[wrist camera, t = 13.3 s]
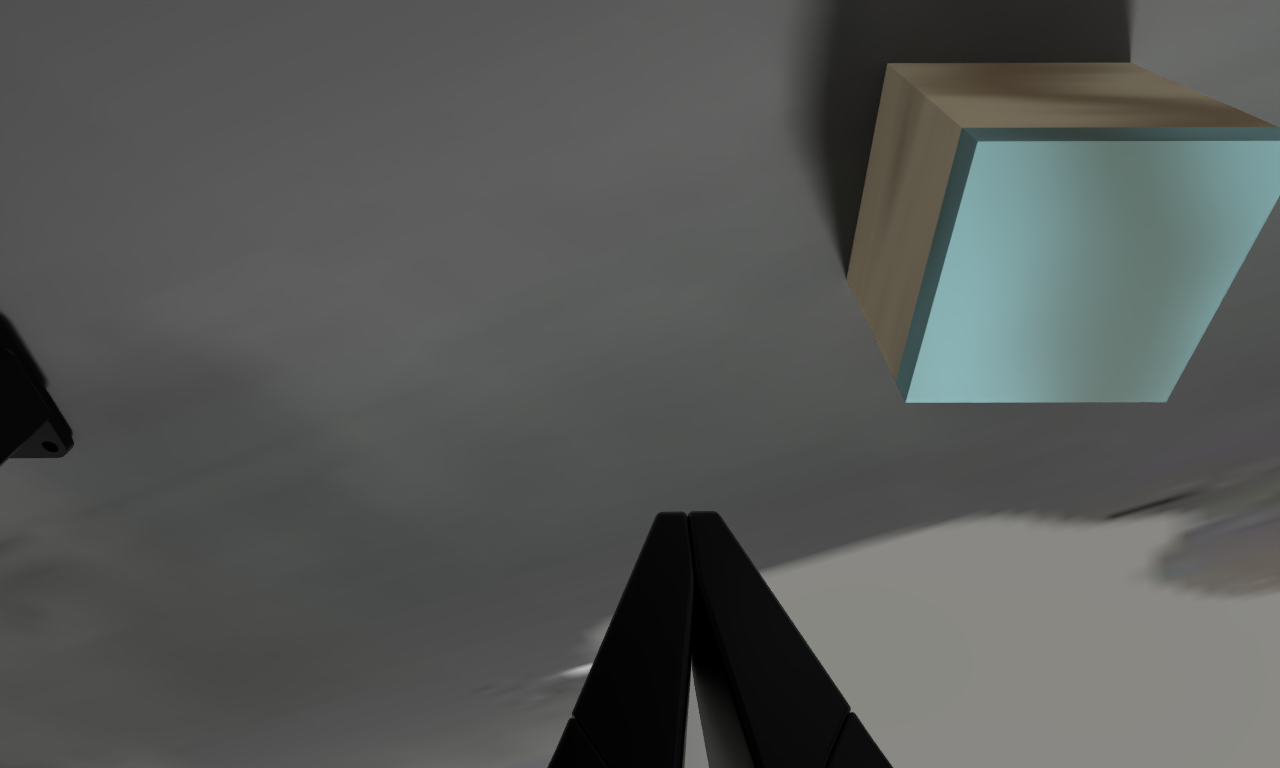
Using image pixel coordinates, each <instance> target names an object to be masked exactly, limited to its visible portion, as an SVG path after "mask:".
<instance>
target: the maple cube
mask: <svg viewBox="0 0 1280 768" xmlns="http://www.w3.org/2000/svg"><path fill="white" fill-rule="evenodd" d="M1279 196H1280V128H1279V127H1277V126H1275V125H1273V124H1270V123H1268V122H1266V121H1263V120H1261V119H1259V118H1256V117H1254V116H1252V115H1250V114H1247V113H1245V112H1243V111H1240V110H1238V109H1236V108H1233V107H1231V106H1229V105H1227V104H1224V103H1222V102H1220V101H1217V100H1215V99H1213V98H1211V97H1208V96H1206V95H1204V94H1201V93H1199V92H1197V91H1194V90H1192V89H1190V88H1188V87H1185V86H1183V85H1181V84H1178V83H1176V82H1174V81H1171V80H1169V79H1167V78H1165V77H1162V76H1160V75H1158V74H1155V73H1153V72H1151V71H1149V70H1146V69H1144V68H1142V67H1139V66H1137V65H1135V64H1132V63H887V68H886V73H885V78H884V84H883V89H882V94H881V99H880V105H879V110H878V115H877V121H876V126H875V131H874V136H873V142H872V147H871V152H870V158H869V163H868V168H867V173H866V179H865V184H864V189H863V195H862V200H861V205H860V210H859V216H858V221H857V226H856V232H855V237H854V242H853V247H852V253H851V258H850V263H849V269H848V274H847V282H848V284H849V286H850V288H851V290H852V292H853V294H854V296H855V298H856V300H857V302H858V304H859V307H860V309H861V311H862V313H863V315H864V317H865V319H866V321H867V323H868V325H869V327H870V329H871V332H872V334H873V336H874V338H875V340H876V342H877V344H878V346H879V348H880V350H881V352H882V354H883V357H884V359H885V361H886V363H887V365H888V367H889V369H890V371H891V373H892V375H893V377H894V379H895V382H896V384H897V386H898V388H899V390H900V392H901V394H902V396H903V398H904V400H905V402H906V403H920V402H1166V401H1167V399H1168V397H1169V396H1170V394H1171V392H1172V390H1173V388H1174V386H1175V385H1176V383H1177V381H1178V379H1179V377H1180V376H1181V374H1182V372H1183V370H1184V368H1185V366H1186V365H1187V363H1188V361H1189V359H1190V357H1191V356H1192V354H1193V352H1194V350H1195V348H1196V346H1197V345H1198V343H1199V341H1200V339H1201V337H1202V336H1203V334H1204V332H1205V330H1206V328H1207V327H1208V325H1209V323H1210V321H1211V319H1212V317H1213V316H1214V314H1215V312H1216V310H1217V308H1218V307H1219V305H1220V303H1221V301H1222V299H1223V297H1224V296H1225V294H1226V292H1227V290H1228V288H1229V287H1230V285H1231V283H1232V281H1233V279H1234V277H1235V276H1236V274H1237V272H1238V270H1239V268H1240V267H1241V265H1242V263H1243V261H1244V259H1245V257H1246V256H1247V254H1248V252H1249V250H1250V248H1251V247H1252V245H1253V243H1254V241H1255V239H1256V237H1257V236H1258V234H1259V232H1260V230H1261V228H1262V227H1263V225H1264V223H1265V221H1266V219H1267V217H1268V216H1269V214H1270V212H1271V210H1272V208H1273V207H1274V205H1275V203H1276V201H1277V199H1278V197H1279Z"/></svg>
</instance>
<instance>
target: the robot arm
mask: <svg viewBox="0 0 1280 768" xmlns="http://www.w3.org/2000/svg"><path fill="white" fill-rule="evenodd" d="M73 445H74V442H73V439H72V437H71V436H70V434H69V433H68V431H67V430H66V428H65V426H64V425H63V423H62V422H61V420H60V418H59V417H58V415H57V414H56V412H55V411H54V409H53V407H52V406H51V404H50V403H49V401H48V400H47V398H46V396H45V395H44V393H43V392H42V390H41V388H40V387H39V385H38V384H37V382H36V381H35V379H34V377H33V376H32V374H31V373H30V371H29V370H28V368H27V366H26V365H25V363H24V362H23V360H22V359H21V357H20V355H19V354H18V352H17V351H16V349H15V347H14V346H13V344H12V343H11V341H10V340H9V338H8V336H7V335H6V333H5V332H4V330H3V329H2V327H1V325H0V466H1V465H2V464H3V463H5V462H6V461H7V460H8V459H9V458H59V457H63V456H64V455H66V454H67V453H68V452H69V451H70V450H71V448H72V447H73ZM691 662H692V671H693V678H694V685H695V691H696V696H697V702H698V707H699V713H700V719H701V725H702V730H703V736H704V741H705V747H706V753H707V758H708V763H709V768H893V767H892V766H891V764H890V763H889V761H888V760H887V758H886V757H885V756H884V754H883V753H882V751H881V750H880V749H879V747H878V746H877V745H876V743H875V742H874V741H873V739H872V737H871V736H870V735H869V733H868V732H867V730H866V729H865V727H864V726H863V724H862V723H861V721H860V720H859V719H858V717H857V716H856V714H855V713H853V712H851V713H850V710H851V708H850V706H849V704H848V703H847V701H846V700H845V698H844V697H843V695H842V694H841V692H840V691H839V690H838V688H837V686H836V685H835V684H834V682H833V681H832V679H831V678H830V676H829V675H828V673H827V672H826V670H825V669H824V667H823V666H822V665H821V663H820V661H819V660H818V659H817V657H816V656H815V654H814V653H813V651H812V650H811V648H810V647H809V645H808V644H807V642H806V641H805V639H804V638H803V636H802V635H801V634H800V632H799V631H798V629H797V628H796V626H795V625H794V623H793V622H792V620H791V619H790V617H789V616H788V614H787V613H786V612H785V610H784V609H783V607H782V606H781V604H780V603H779V601H778V600H777V598H776V597H775V595H774V594H773V592H772V591H771V589H770V588H769V587H768V585H767V584H766V582H765V581H764V579H763V578H762V576H761V575H760V573H759V572H758V570H757V569H756V567H755V566H754V564H753V563H752V561H751V560H750V559H749V557H748V556H747V554H746V553H745V551H744V550H743V548H742V547H741V545H740V544H739V542H738V541H737V539H736V538H735V536H734V535H733V534H732V532H731V531H730V529H729V528H728V526H727V525H726V523H725V522H724V520H723V519H722V517H721V516H720V515H719V514H718V513H717V512H715V511H692V512H690V513H689V514H688V517H687V515H686V513H685V512H660V513H658V514H657V515H656V517H655V519H654V522H653V524H652V526H651V529H650V531H649V533H648V536H647V538H646V540H645V543H644V545H643V547H642V550H641V552H640V554H639V557H638V559H637V562H636V564H635V566H634V569H633V571H632V573H631V576H630V578H629V580H628V583H627V585H626V587H625V590H624V592H623V594H622V597H621V599H620V601H619V604H618V606H617V608H616V611H615V613H614V616H613V618H612V620H611V623H610V625H609V627H608V630H607V632H606V634H605V637H604V639H603V641H602V644H601V646H600V648H599V651H598V653H597V655H596V658H595V660H594V662H593V665H592V667H591V670H590V672H589V674H588V677H587V679H586V681H585V684H584V686H583V688H582V691H581V693H580V695H579V698H578V700H577V702H576V705H575V707H574V709H573V712H572V718H570V719H569V720H568V723H567V725H566V727H565V730H564V732H563V734H562V737H561V739H560V741H559V744H558V746H557V748H556V750H555V752H554V755H553V757H552V759H551V761H550V763H549V765H548V768H684V767H685V752H686V737H687V721H688V708H689V693H690V677H691V676H690V675H691Z"/></svg>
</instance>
